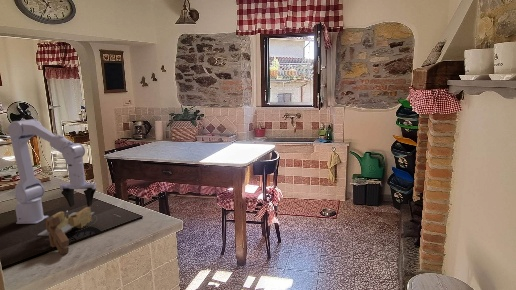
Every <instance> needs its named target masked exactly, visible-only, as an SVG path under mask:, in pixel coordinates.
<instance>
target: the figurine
mask: <svg viewBox="0 0 516 290" xmlns="http://www.w3.org/2000/svg"><path fill="white" fill-rule="evenodd" d="M60 223H61V222H60V218H59V217H55V218H54V217H53V215H51V216H49V217H47V218H45V230H47V231H48V232H50V233H49V236H48V238H49V244H50V247H52V248H56V249H57V250H58V253H59V254H60V255H61V256H62V255H66V254H68V253H69V249H70V248H69V245H70V239H69V238H68V236H67V235H66V233H64V232H63V231H62V230H61V229H59V228H58V225H59V224H60Z"/></svg>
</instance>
